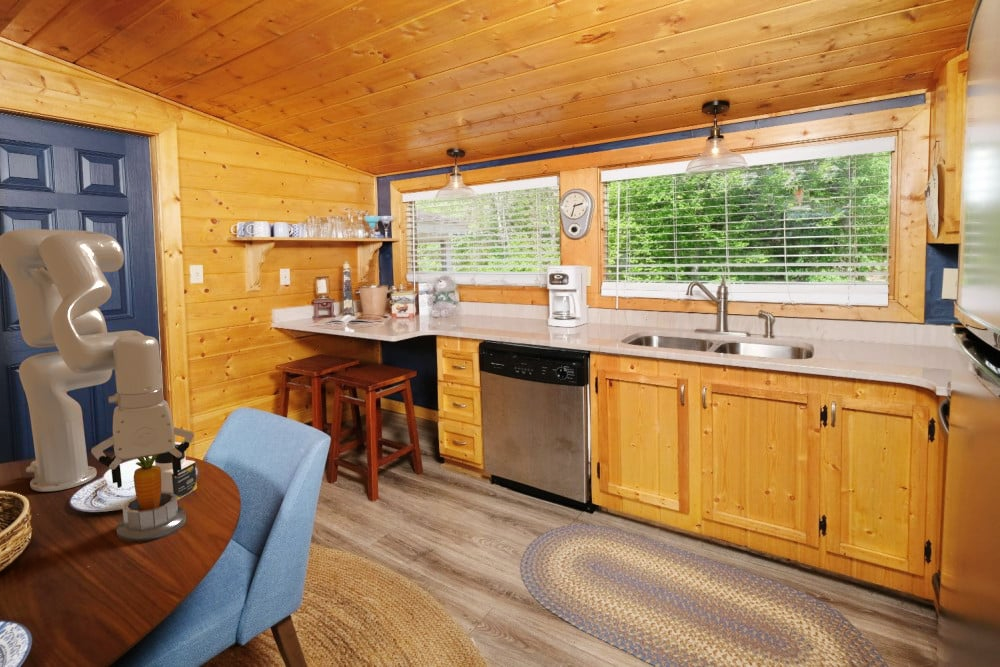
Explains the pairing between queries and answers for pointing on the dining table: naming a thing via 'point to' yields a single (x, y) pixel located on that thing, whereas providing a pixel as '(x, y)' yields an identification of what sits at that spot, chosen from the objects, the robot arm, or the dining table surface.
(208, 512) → the dining table surface
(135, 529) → the duct collar
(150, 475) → the carrot
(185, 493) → the medicine bottle
